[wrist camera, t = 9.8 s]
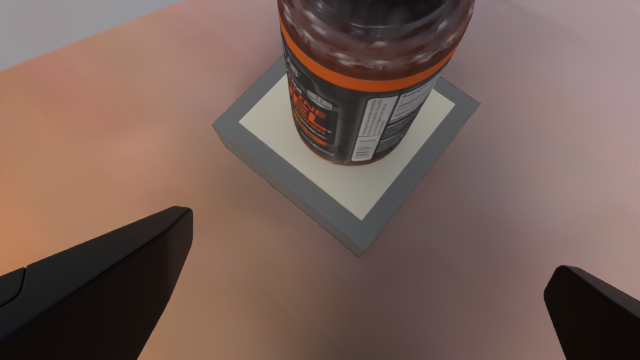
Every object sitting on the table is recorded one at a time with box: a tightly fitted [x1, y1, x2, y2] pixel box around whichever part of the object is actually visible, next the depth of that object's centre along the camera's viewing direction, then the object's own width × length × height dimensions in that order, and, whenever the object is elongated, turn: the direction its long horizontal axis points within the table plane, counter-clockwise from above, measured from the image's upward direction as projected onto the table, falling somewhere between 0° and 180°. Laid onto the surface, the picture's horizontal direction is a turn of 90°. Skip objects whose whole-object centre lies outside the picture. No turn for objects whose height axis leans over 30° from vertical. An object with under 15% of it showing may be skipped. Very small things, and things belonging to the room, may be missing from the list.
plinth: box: [212, 54, 481, 257], centre depth 21 cm, size 10×10×3 cm
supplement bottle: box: [277, 0, 475, 166], centre depth 14 cm, size 6×6×11 cm
